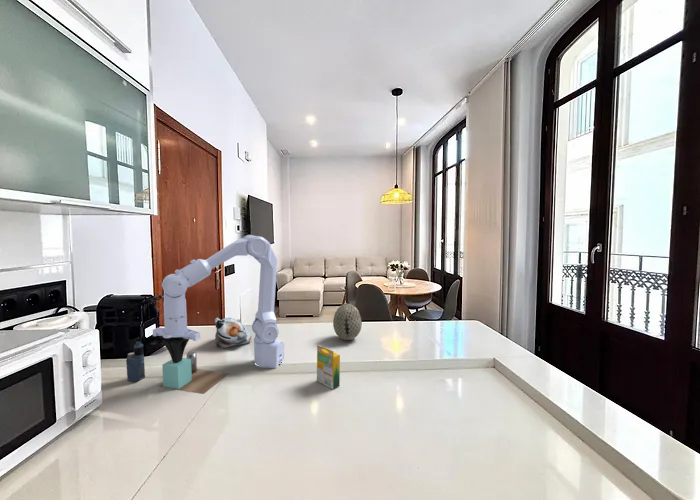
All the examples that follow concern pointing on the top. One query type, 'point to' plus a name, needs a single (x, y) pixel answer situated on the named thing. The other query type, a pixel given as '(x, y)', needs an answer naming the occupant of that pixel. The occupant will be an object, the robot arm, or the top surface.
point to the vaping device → (136, 364)
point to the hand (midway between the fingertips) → (177, 361)
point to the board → (202, 381)
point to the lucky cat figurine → (231, 332)
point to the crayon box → (328, 367)
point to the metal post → (192, 361)
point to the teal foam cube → (177, 373)
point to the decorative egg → (347, 322)
